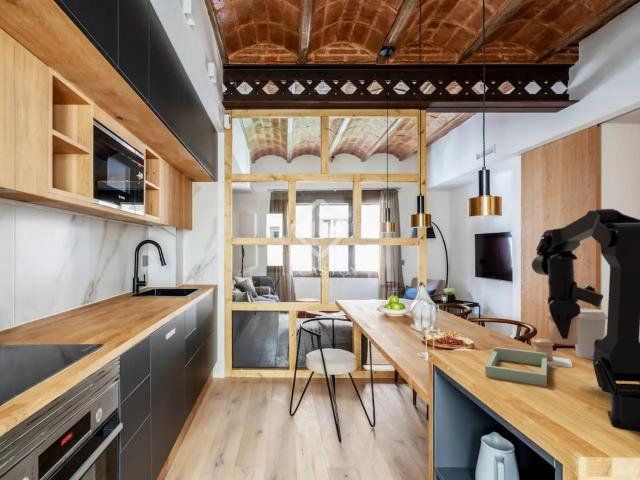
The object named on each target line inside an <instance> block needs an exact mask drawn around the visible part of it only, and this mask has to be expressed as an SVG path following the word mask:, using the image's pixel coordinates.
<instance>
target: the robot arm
mask: <svg viewBox="0 0 640 480" xmlns="http://www.w3.org/2000/svg"><path fill="white" fill-rule="evenodd" d="M590 237H591V238H593V239H594V240H595V241H596V242H597V243H598V244H599V245H600V254H601V255H602V257H603V258H604V260H605V261H606V262H607V264H608V265H609V282H608V283H609V284H608V304H607V305H608V307H607V321H606V322H607V323H606V324H607V325H606V335H604V338H603V339H596V340H595V342H594V355H593V358H594V360H593V359H592V360H593V361H592V366H593V370H594V373H595V378H596V381H597V386H598V388H600V390H601V392H605V393H608V394H610V408H611V410H607V412H606V413H607V415H608V419H609V421H610V425H611V426H613V427H617V428H623V429H628V430H633V431H637V432H640V218H639V219H638V218H636V217H633V216H630V215H627V214H624V213H622V212H620V211H619V210H617V209H614V208H598V209H597V208H594V209H592V210H589V211H587V213H586V214H584V215H583V216H581V217H580V218H578V219H576V220H574V221H572V222H571V223H569V224H567V225H565V226H563V227H557V228H551V229H547V230H545V231H544V232H543V233H542V235H541V237H540V240H539V243H538V245H537V247H536V255H537V256H536V257H535V258H534V259H533V260H532V262H531V268H532V271H534V272H535V274H538V275H541V276H542V275H543V276H547V278H548V283H547V284H548V296H547V305H548V310H549V311H548V312H550V314H551V316H552V318H553V320H554V322H555V324H556V326H557V329H558V331H559V333H560V335H561V337H562V339H567V338H568V334H569V329H570V324H571V320H572V319H573V318H574V317H576V316H578V315H579V314H580V308H581V305H580V304H579V303H578V302H579V301H582V302H584V303H586V304H587V303H588V304H590V305H592V306H594V307H597V308H599V307H600V306H601V303H602V302H603V298H604V295H603V294H602V293H599V292H596V288H595V287H593V286H590V285H586V286H585V287H584V288H583V287H580V286H578V283H577V282H576V281H575V267H574V266H575V265H574V261H575V260H578V257H577V255H576V254H574V253H573V252H574V251H575V250H576V249H577V248H578V247H580V246H581V242H582V241H583V240H585V239H588V238H590ZM617 382H619V383H617ZM620 382H634V383H620ZM635 382H637V383H635Z"/></svg>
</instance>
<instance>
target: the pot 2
mask: <svg viewBox="0 0 640 480" xmlns="http://www.w3.org/2000/svg"><path fill="white" fill-rule="evenodd" d="M546 317H547V318H549V335H550V337H549V340H550V341H551V342H553V343H554V344H559V345H565V346H575V345H577V344H578V331H577V320H578V319H579V315H578V316H576V317H574V318H573V319H572V320H571V324H570V329H569V334H568V338H567V339H562V337H561V335H560V333H559V331H558V329H557V326H556V324H555V322H554V320H553V318H552V316H551V314H550V311H548V312H546Z"/></svg>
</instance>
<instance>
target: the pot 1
mask: <svg viewBox="0 0 640 480" xmlns="http://www.w3.org/2000/svg"><path fill="white" fill-rule="evenodd" d="M532 344H533V347H534V348H533V349H534V350H533V352H541V353H547V361H553V356H554V354H553V353H554V351H553V349H554V347H553V346H554V345H555V343H553V342H551V341H550V338H540V337H537V338H532Z"/></svg>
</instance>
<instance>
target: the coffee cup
mask: <svg viewBox="0 0 640 480" xmlns="http://www.w3.org/2000/svg"><path fill="white" fill-rule="evenodd" d="M606 320H608V315H607V314H605V311H604V310H601V309H595V308H589V307H588V308H586V307H580V314H579V319H578V320H577V331H578V344H577V345H574V347H575V354H576V356H577V357H579V358H582V359H587V360H594V358H593V355H594V342H595V340H596V339H603V338H604V337H605V330H606Z"/></svg>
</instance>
